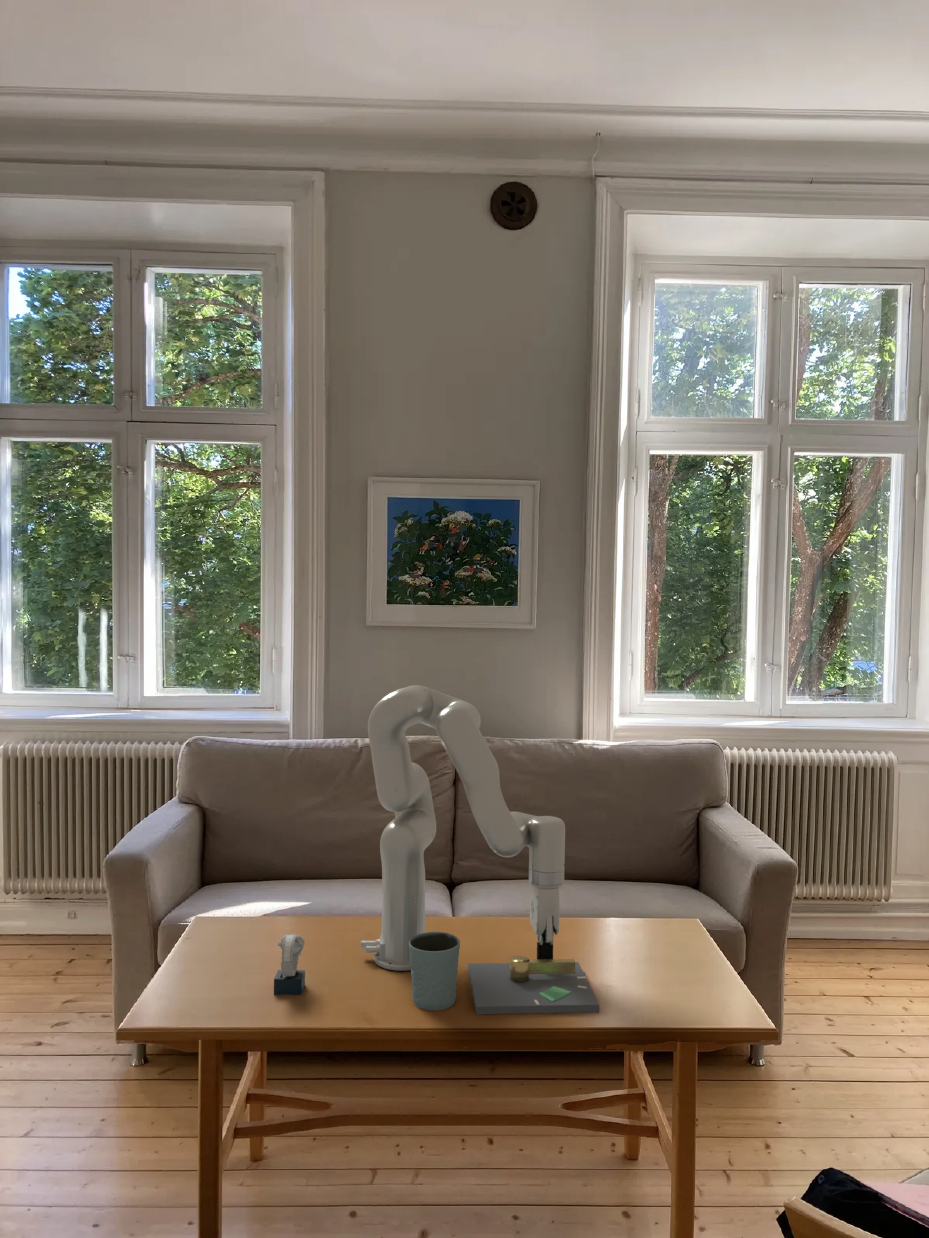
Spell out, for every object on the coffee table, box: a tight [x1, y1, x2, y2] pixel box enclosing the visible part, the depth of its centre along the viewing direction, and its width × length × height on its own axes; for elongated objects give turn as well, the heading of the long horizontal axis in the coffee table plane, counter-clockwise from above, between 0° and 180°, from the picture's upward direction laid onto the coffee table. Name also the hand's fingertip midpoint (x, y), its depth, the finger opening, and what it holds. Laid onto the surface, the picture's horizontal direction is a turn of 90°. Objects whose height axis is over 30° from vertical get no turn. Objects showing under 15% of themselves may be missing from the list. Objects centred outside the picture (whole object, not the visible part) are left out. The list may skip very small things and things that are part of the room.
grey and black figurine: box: [273, 933, 306, 996], centre depth 178 cm, size 6×8×11 cm
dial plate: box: [467, 961, 600, 1015], centre depth 180 cm, size 24×20×2 cm
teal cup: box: [409, 931, 461, 1011], centre depth 174 cm, size 10×10×12 cm
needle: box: [509, 955, 576, 982], centre depth 182 cm, size 14×4×4 cm, turn 94°
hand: (544, 961), depth 186 cm, fingers closed
